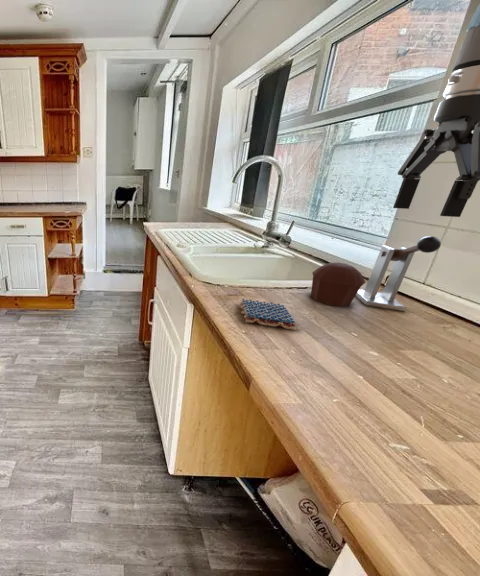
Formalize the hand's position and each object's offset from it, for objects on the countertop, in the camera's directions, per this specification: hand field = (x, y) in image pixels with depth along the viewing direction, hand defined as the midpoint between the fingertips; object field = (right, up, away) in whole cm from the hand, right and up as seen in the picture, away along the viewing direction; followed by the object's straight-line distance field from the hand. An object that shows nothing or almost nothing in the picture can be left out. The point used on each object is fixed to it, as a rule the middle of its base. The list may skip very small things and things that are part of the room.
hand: (422, 212), depth 65 cm
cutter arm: (+5, -9, +8) cm, 13 cm away
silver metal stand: (+7, -20, +18) cm, 28 cm away
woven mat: (-30, -23, +6) cm, 39 cm away
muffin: (-6, -20, +18) cm, 27 cm away
